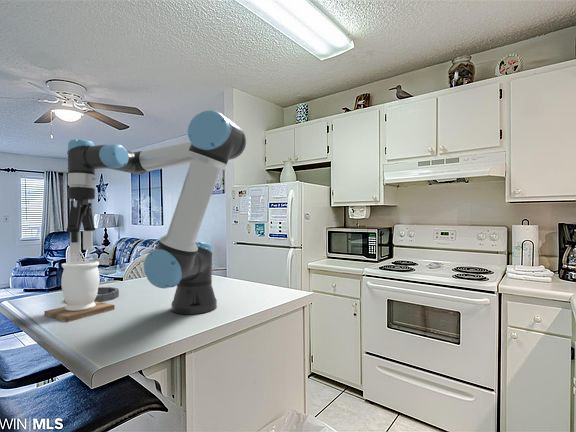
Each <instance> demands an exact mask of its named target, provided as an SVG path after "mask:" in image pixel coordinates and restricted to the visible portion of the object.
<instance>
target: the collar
mask: <svg viewBox="0 0 576 432" xmlns="http://www.w3.org/2000/svg"><path fill="white" fill-rule="evenodd" d="M119 291H120V290H119V288H118V287H111V286H106V287H105V286H104V287H103V286H100V287H98V293H97V296H96V298H95V300H94V301H96V302H102V303H105V302H107V301H112V300H115V299H117V298H119V296H120V292H119Z"/></svg>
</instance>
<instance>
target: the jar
mask: <svg viewBox="0 0 576 432" xmlns="http://www.w3.org/2000/svg"><path fill="white" fill-rule="evenodd" d="M99 265H100V261H98V260H97V261H96V260H81V261H71V262H70V261H69V262H64V263H61V267H62V268H63V271H62V274H61V282H60V283H61V285H60V286H61V290H62V296H63V297H62V298H63V300H64V302H65V304H66V305H65V306H66V307H65V306H64V307H65V310H67V311H80V310H86V309H90V308H93V307H95V306H96V304H95V303H94V300H95V298H96V296H97V295H98V294H97V293H98V287H99V285H100V271H99V268H98V266H99Z"/></svg>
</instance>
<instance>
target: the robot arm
mask: <svg viewBox="0 0 576 432" xmlns="http://www.w3.org/2000/svg"><path fill="white" fill-rule="evenodd" d="M187 137H188V141H183V142H179V143H172V144H169V145H163V146H159V147H158V146H157V147H154V148H150V149H149V148H148V149H143V150H139V151H130V150H127V149H126V148H125V147H124V146H123V145H121V144H119V143H118V144H117V143H115V144H113V143H108V144H107V143H106V144H100V145H95V143H94V142H93V141H90V140H87V139H77V138H76V139H75V138H74V139H70V140H69V141H68V143H67V144H68V145H67V151H66V152H67V153H66V154H67V186H69V187H68V188H67V198H68V199H70V208H69V214H68V220H67V221H68V222H67V228H66V230H65V231H66V233H69V254H81V253H82V250H83V251H84V250H85V251H87V250H93V231H96V227H95V226H94V225H95V223H94V216H93V210H92V208H93V207H92V205H93V204H92V202H89V200H90V201H91V200H95V198H96V190H95V188H94V187H95V186H96V185H95V182H96V181H97V177H95V175H96V174H95V173H96V171H95V170H97V169H98V170H99V169H101V170H102V169H109V170H113V171H119V172H123V173H128V174H133V175H139V176H140V175H141V176H144V175H147V174H148V173H150V171H151V172H152V171H156V170H163V169H167V168H168V169H169V168H173V167H180V166H184V165H189V166H188V169H187V173H186V176H185V178H184V181H183V184H182V188H181V191H180V194H179V197H178V199H177V203H176V205H175V208H174V212H173V214H172V217H171V220H170V224H169V227H168V230H167V233H166V234H165V235H163V236H160V238H159V239H158V243H157V246H156V248H155V249H153V250H152V251H149V253H148V254H147V255H146V257H145V259H144V261H143V273H144V275H145V276H146V279H147V281H148V282H149V283H150V284H151V285H153V286H154V287H156V288H158V289H168V288H174V287H176V290H175V293H174V296H173V300H172V301H171V312H172V313H174V314H180V315H197V314H203V313H208V312H211V311H214V310H215V309H217V306H218V305H217V304H218V303H217V298H216V296H215V291H214V288H213V283H212V281H213V280H212V279H213V271H212V270H213V249H212V244H211V243H209V242H203V241H196V240H197V237H198V234H199V231H200V229H201V225H202V223H203V220H204V217H205V214H206V211H207V208H208V205H209V202H210V199H211V196H212V193H213V191H214V187H215V184H216V182H217V178H218V175H219V173H220V170H221V169H222V168H223V167H226V166H227V165H228V162H229V161H231V160H234V159H236V158H239V156H241V155H242V154H243V152H244V151H245V148H246V145H247V138H246V137H247V136H246V135H245V132H244V131H243V129H242V128H241V127H240V126H239V125H238V124H236V123H235V122H233V121H232V120H231V119H229V118H228V117H227V116H226V115H225V114H223V113H221V112H219V111H216V110H213V109H212V110H210V109H207V110H203V111H201V112H199V113H197V114H196V115H194V116H193V117H192V119H191V120H190V122H189V124H188V127H187ZM81 227H83V230H82V232H81ZM81 233H82V234H81ZM81 235H82V237H81ZM81 244H82V246H81Z"/></svg>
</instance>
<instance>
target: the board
mask: <svg viewBox="0 0 576 432" xmlns="http://www.w3.org/2000/svg"><path fill="white" fill-rule="evenodd" d="M94 303H95V304H96V306H95V307H93V308H90V309H86V310H80V311H67V310H65V307H66V306H67V305H65V306H62V307H57V308H53V309H47V310H44V312H43V313H44V317H47V318H51V319H56V320H60V321H63V322H66V323H69V322H73V321H76V320H81V319H84V318H87V317H91V316H94V315H95V316H96V315H98V314H102V313H106V312H110V311H113V310H115V309H116V307H115V304H110V303H107V302H106V303H105V302H96V301H94Z"/></svg>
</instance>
